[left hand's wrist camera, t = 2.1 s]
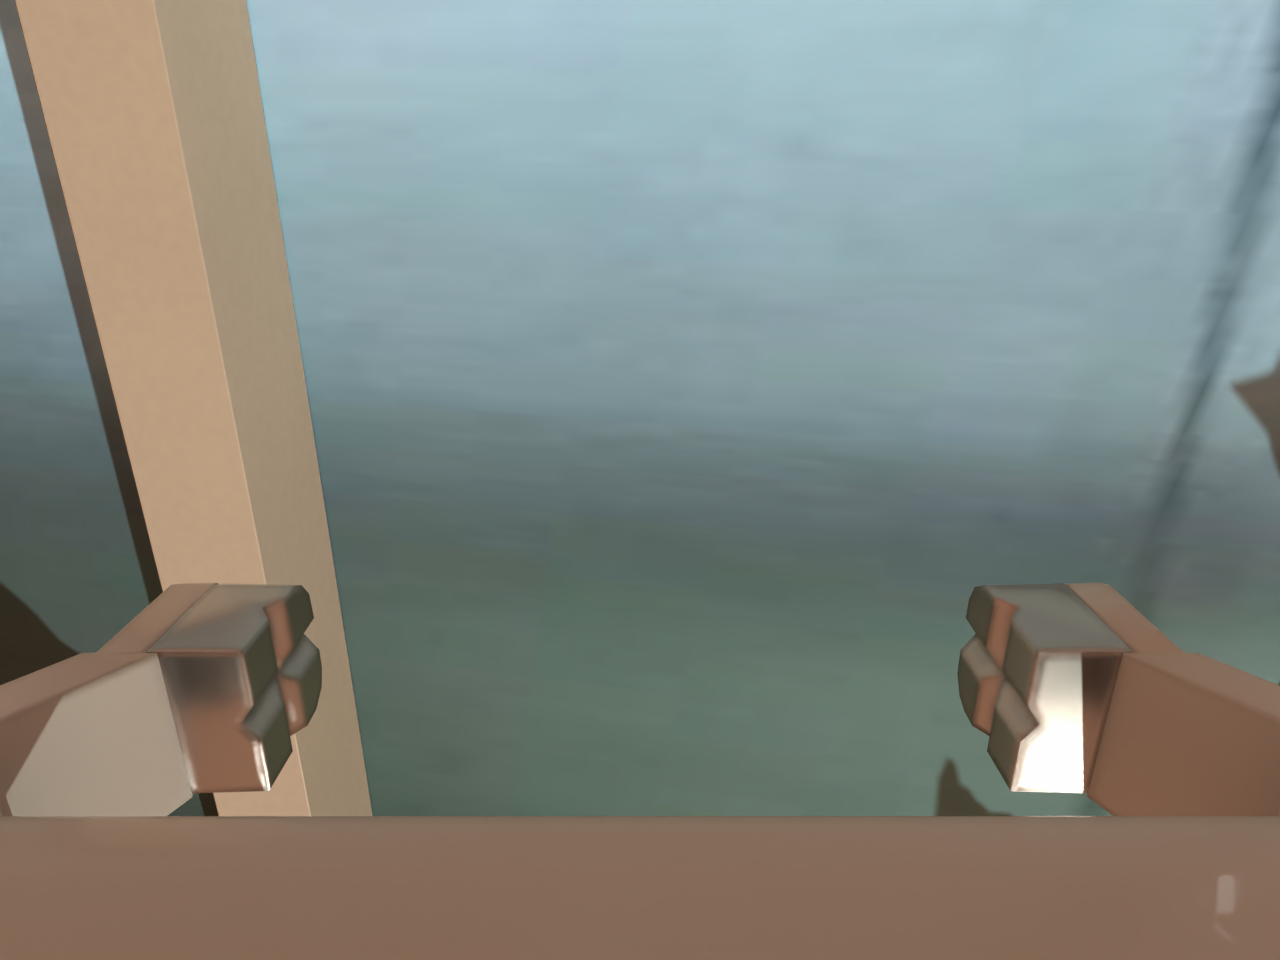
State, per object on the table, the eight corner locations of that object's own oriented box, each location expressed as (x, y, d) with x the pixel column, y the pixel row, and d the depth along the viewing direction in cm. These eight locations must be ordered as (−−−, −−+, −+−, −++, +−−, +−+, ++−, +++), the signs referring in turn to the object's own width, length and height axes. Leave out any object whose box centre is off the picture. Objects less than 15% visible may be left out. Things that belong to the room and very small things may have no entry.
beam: (124, -48, 34) (-9, -92, 27) (239, -47, 33) (135, -91, 27) (341, 1033, 59) (301, 1150, 53) (406, 1034, 59) (375, 1151, 53)
